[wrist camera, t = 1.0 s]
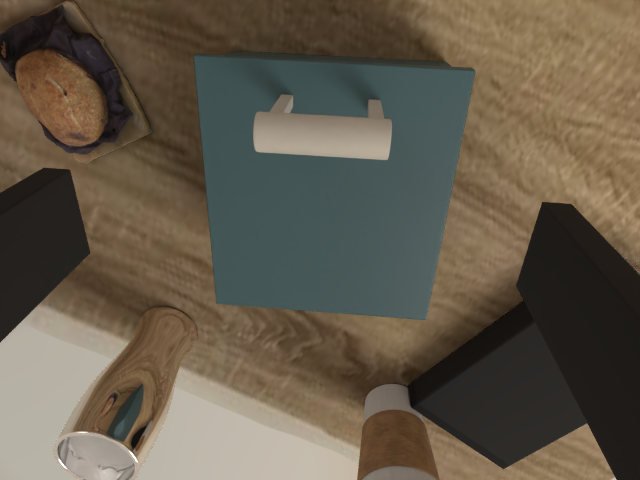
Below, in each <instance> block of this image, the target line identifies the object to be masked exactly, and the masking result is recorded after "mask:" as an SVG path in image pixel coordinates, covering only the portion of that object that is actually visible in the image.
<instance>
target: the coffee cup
mask: <svg viewBox="0 0 640 480" xmlns="http://www.w3.org/2000/svg"><path fill="white" fill-rule="evenodd" d="M357 480H440V479H439V475H438V472H437V468H436V464H435V460H434V456H433V453H432V449H431V445H430V441H429V438H428V434H427V430H426V427H425V424H424V420H423V415H422V414H420V413H419V412H417V411H416V410H414V409H413V408H412V407H411V405H410V398H409V390H408V387H405V386H403V385H398V384H385V385H381V386H378V387H376V388H374V389H373V390H371V391H370V392H369V394H368V395H367V396H366V399H365V408H364V422H363V429H362V439H361V449H360V459H359V469H358V479H357Z"/></svg>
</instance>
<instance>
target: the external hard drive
mask: <svg viewBox="0 0 640 480" xmlns="http://www.w3.org/2000/svg"><path fill="white" fill-rule="evenodd" d="M408 390H409V398H410V405H411V407H412V408H413V409H414V410H416V411H417V412H419V413H420V414H422V415H423V416H425V417H426V418H428V419H429V420H431V421H432V422H434V423H435V424H437V425H438V426H440V427H441V428H443V429H444V430H446V431H447V432H449V433H450V434H452V435H453V436H455V437H456V438H458V439H459V440H461V441H462V442H464V443H465V444H467V445H468V446H470V447H471V448H473V449H474V450H476V451H477V452H479V453H480V454H482V455H483V456H485V457H486V458H488V459H489V460H491V461H492V462H494V463H495V464H497V465H498V466H500V467H501V468H503V469H505V468H506V467H508V466H510V465H512V464H514V463H515V462H517V461H519V460H521V459H523V458H525V457H526V456H528V455H530V454H532V453H534V452H535V451H537V450H539V449H541V448H543V447H545V446H546V445H548V444H550V443H552V442H554V441H555V440H557V439H559V438H561V437H563V436H565V435H566V434H568V433H570V432H572V431H574V430H575V429H577V428H579V427H581V426H583V425H585V424H586V423H587V421H586V420H585V418H584V416H583V414H582V412H581V410H580V408H579V406H578V404H577V402H576V400H575V398H574V396H573V394H572V392H571V391H570V389H569V387H568V385H567V383H566V381H565V379H564V377H563V375H562V373H561V371H560V369H559V367H558V365H557V364H556V362H555V360H554V358H553V356H552V354H551V352H550V350H549V348H548V346H547V344H546V342H545V340H544V338H543V336H542V335H541V333H540V331H539V329H538V327H537V325H536V323H535V321H534V319H533V317H532V315H531V313H530V311H529V309H528V307H527V306H526V304H525V302H522V303H521V304H520V305H518V306H517V307H516V308H514V309H513V310H511V311H510V312H509V313H507V314H506V315H505V316H503V317H502V318H500V319H499V320H498V321H496V322H495V323H494V324H492V325H491V326H489V327H488V328H487V329H485V330H484V331H483V332H481V333H480V334H478V335H477V336H476V337H474V338H473V339H472V340H470V341H469V342H467V343H466V344H465V345H463V346H462V347H461V348H459V349H458V350H456V351H455V352H454V353H452V354H451V355H450V356H448V357H447V358H445V359H444V360H443V361H441V362H440V363H439V364H437V365H436V366H434V367H433V368H432V369H430V370H429V371H428V372H426V373H425V374H423V375H422V376H421V377H419V378H418V379H417V380H415V381H414V382H412V383H411V384H410V385H408Z"/></svg>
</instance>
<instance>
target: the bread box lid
mask: <svg viewBox="0 0 640 480" xmlns="http://www.w3.org/2000/svg"><path fill="white" fill-rule="evenodd" d="M194 67H195V77H196V88H197V99H198V110H199V120H200V131H201V142H202V153H203V163H204V174H205V185H206V196H207V206H208V217H209V228H210V238H211V249H212V260H213V271H214V281H215V292H216V303H217V304H227V305H239V306H252V307H265V308H278V309H291V310H304V311H316V312H329V313H342V314H355V315H368V316H381V317H394V318H406V319H419V320H426V318H427V313H428V308H429V303H430V298H431V293H432V288H433V283H434V278H435V273H436V268H437V263H438V258H439V253H440V248H441V243H442V238H443V233H444V227H445V222H446V217H447V212H448V207H449V202H450V197H451V192H452V187H453V182H454V177H455V172H456V167H457V162H458V157H459V152H460V147H461V142H462V136H463V131H464V126H465V121H466V116H467V111H468V106H469V101H470V96H471V91H472V86H473V81H474V76H475V70H474V69H473V68H464V67H445V66H426V65H407V64H387V63H368V62H349V61H330V60H311V59H292V58H273V57H254V56H235V55H216V54H196V55H194Z"/></svg>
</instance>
